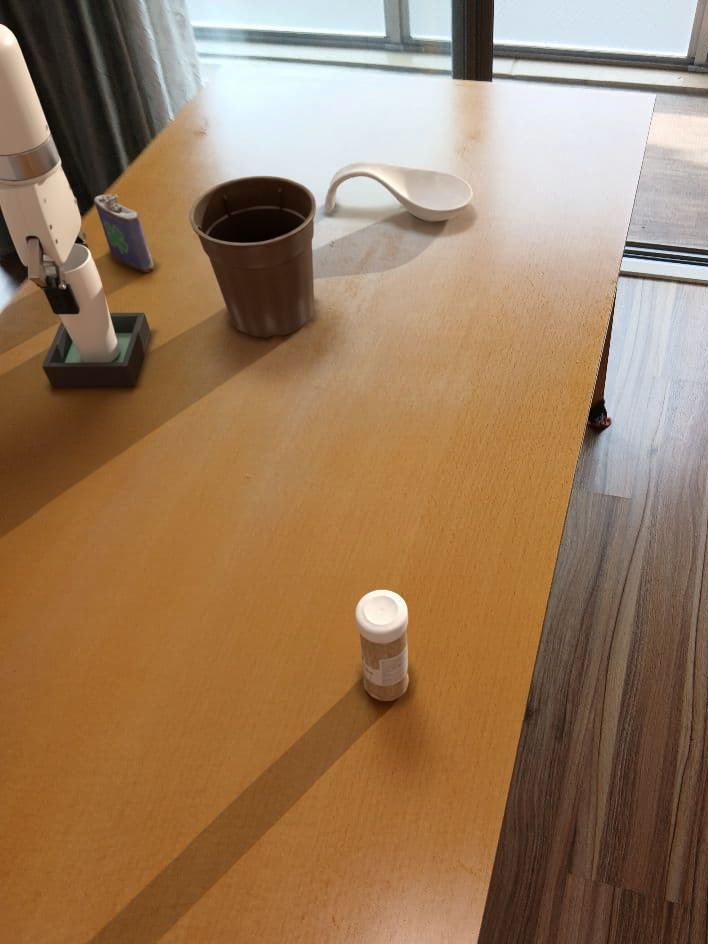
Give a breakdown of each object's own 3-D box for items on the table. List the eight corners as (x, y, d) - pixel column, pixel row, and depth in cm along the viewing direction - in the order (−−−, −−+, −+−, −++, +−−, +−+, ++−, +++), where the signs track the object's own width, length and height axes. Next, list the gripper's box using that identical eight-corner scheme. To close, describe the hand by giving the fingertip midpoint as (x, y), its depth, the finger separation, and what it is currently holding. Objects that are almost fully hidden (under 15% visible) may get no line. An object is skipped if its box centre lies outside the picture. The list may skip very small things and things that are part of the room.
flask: (158, 267, 124) (138, 201, 115) (142, 276, 123) (121, 210, 114) (120, 245, 128) (98, 180, 119) (105, 254, 126) (81, 188, 118)
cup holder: (51, 387, 108) (41, 366, 105) (73, 333, 115) (64, 313, 112) (134, 386, 108) (127, 366, 105) (151, 332, 115) (144, 312, 112)
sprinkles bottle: (357, 671, 82) (347, 597, 71) (399, 655, 83) (395, 580, 72) (373, 710, 79) (366, 639, 68) (416, 693, 80) (416, 621, 69)
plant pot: (192, 330, 115) (162, 225, 102) (252, 268, 123) (233, 164, 111) (291, 361, 110) (274, 256, 97) (347, 294, 119) (338, 190, 106)
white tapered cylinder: (123, 370, 109) (86, 272, 97) (71, 373, 109) (28, 276, 97) (129, 337, 113) (94, 240, 101) (80, 340, 113) (39, 243, 101)
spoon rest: (473, 194, 135) (475, 151, 129) (470, 234, 128) (472, 190, 122) (332, 189, 137) (328, 147, 131) (321, 228, 130) (316, 185, 124)
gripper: (11, 117, 94) (64, 252, 108) (-40, 198, 83) (26, 337, 98) (75, 116, 94) (121, 252, 108) (32, 197, 83) (88, 336, 97)
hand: (75, 291), depth 103 cm, fingers open, 7 cm apart
